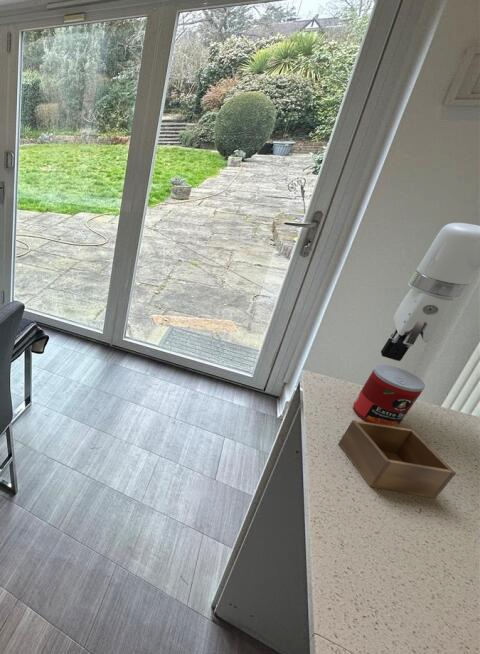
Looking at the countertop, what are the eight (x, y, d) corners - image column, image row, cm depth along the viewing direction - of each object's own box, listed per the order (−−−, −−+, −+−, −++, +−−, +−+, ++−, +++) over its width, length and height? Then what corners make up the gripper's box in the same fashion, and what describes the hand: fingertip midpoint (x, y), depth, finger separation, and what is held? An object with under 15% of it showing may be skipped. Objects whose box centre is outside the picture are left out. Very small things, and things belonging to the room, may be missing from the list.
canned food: (364, 425, 87) (390, 385, 82) (343, 400, 94) (366, 361, 89) (407, 432, 85) (436, 392, 80) (382, 406, 92) (408, 367, 87)
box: (395, 453, 80) (412, 429, 77) (435, 498, 72) (456, 473, 69) (337, 443, 82) (352, 419, 79) (369, 486, 73) (387, 461, 70)
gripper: (473, 304, 75) (418, 381, 84) (454, 277, 86) (407, 348, 95) (417, 291, 79) (371, 366, 88) (405, 267, 90) (365, 336, 99)
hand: (390, 356), depth 91 cm, fingers closed
